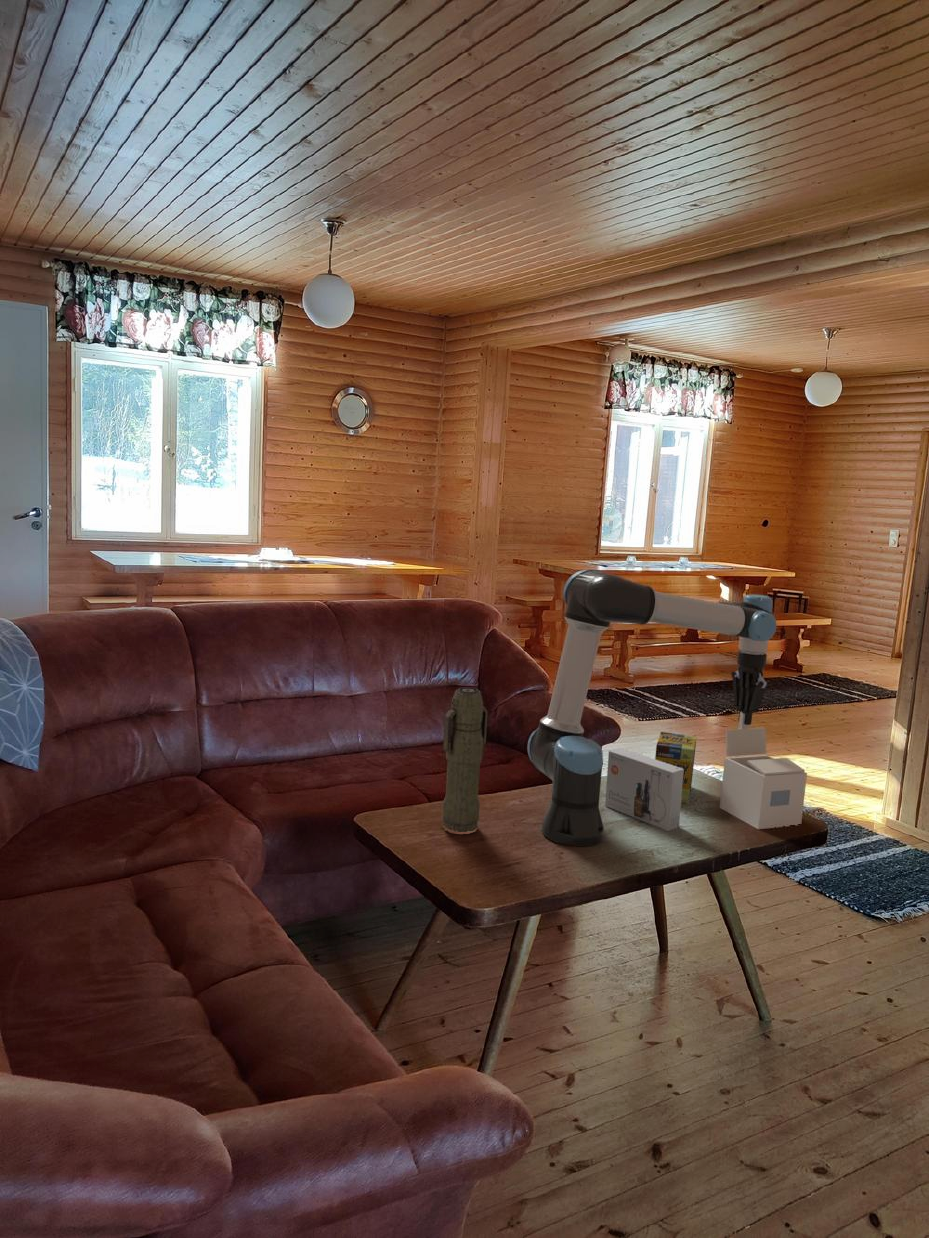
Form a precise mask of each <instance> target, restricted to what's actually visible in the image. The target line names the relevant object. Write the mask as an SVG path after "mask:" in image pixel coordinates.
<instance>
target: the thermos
mask: <svg viewBox="0 0 929 1238" xmlns="http://www.w3.org/2000/svg"><path fill="white" fill-rule="evenodd" d="M488 714H489V712H488V710H487V708H486V706H484V701H483V696H482V692H481V691H480V690H479V689H477V688H473V687H459V688H458V689H456V690H455V691H454V694H453V697H452V700H451V708H450V710H448V711H447V712H446V714H445V716H444V728H443V731H444V732H443V742H442V743H443V744H442V745H443V746H442V749H443V750H444V751H445V759H446V761H447V768H446V788H445V789H446V791H445V797H444V799H443V801H442V826H443V825H444V826H445V827H446V828H448V829H450V830H454V831H458V832H467V831H473V830H475V829H476V828H477V827H478V821H479V819H480V806H481V804H480V801H479V786H480V785H479V784H480V773H481V772H480V771H481V770H480V768H481V763H482V761H483V753H484V748H486V744H487V743H486V742H487V733H488V732H487V731H488V730H487V729H488V717H489V716H488ZM477 829H478V828H477Z"/></svg>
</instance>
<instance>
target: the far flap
mask: <svg viewBox="0 0 929 1238" xmlns="http://www.w3.org/2000/svg"><path fill="white" fill-rule="evenodd" d="M725 745H726V747H725V748H726V749H725V750H726V751H725V752H726V753H725V754H726V755H725V756H726V757H740V756H755V755H767V731H766V727H750V728H747V729H738V728H734V729H733V728H730V729H728V728H727V729H725Z"/></svg>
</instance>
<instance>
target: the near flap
mask: <svg viewBox="0 0 929 1238" xmlns="http://www.w3.org/2000/svg"><path fill="white" fill-rule="evenodd" d="M747 763H748V764H750V765H751V766H752V767H754V768H755V769H756V770H758V771H759V772H760V773H762V774H763V775H776V774H789V773H801V772H805V771H806V770H805V769H804V768H802V767H801V766H800V765H798V764H796V763H795V762H794V761H792V760H791V759H790V758H787V757H777V758H775V757H774V759H761V760H747Z"/></svg>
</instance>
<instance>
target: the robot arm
mask: <svg viewBox="0 0 929 1238" xmlns="http://www.w3.org/2000/svg"><path fill="white" fill-rule="evenodd" d="M562 595H563V600H564V602H565V604H566V609H565V613H564V620H565V621H566V623H567V624H568V625H567V631H566V635H565V639H564V643H563V648H562V652H561V656H560V661H559V665H558V670H557V673H556V678H555V681H554V686H553V690H552V695H551V698H550V699H551V700H550V704H549V707H548V711H547V715H546V716H543V717H542V718H540V720H539V723H538V727H537V728H536V730H534V731H533V732H531V733H530V736H529V738H528V742H527V754H528V757H529V759H530V761H531V763H532V765H534V766H535V768H536V769H537V770H538V771H539V772H541V773H543V774H544V775H545V776H547V777H548V779H550V780H551V781H552V786H551V798H550V799H551V800H550V804H549V806H548V809H547V811H546V813H545V816H544V818H543V821H542V824H541V833H543V834H542V835H543V836H544V835H545V836H546V837H547V839H548V838H549V839H548V840H550V839H551V840H550V841H552V840H553V841H552V842H554V841H556V842H555V843H557V842H558V843H557V844H561V845H565V844H566V846H571V847H572V846H573V847H587V846H588V847H589V846H593V845H596V844H599V843H601V842H602V841H603V839H604V835H605V828H604V825H603V820H602V819H603V818H602V816H601V812H600V807H599V805H600V792H601V785H602V784H601V783H602V772H603V766H604V757H603V756H604V755H603V754H604V753H603V750H602V747H601V745H599V744H598V743H597V742H596V741H594V740H592V739H590V738H586V737H584V733H585V729H584V727H583V726H582V725H581V720H582V716H583V712H584V708H585V705H586V704H585V703H586V699H587V695H588V690H589V687H590V683H591V678H592V673H593V669H594V666H595V662H596V657H597V653H598V650H599V645H600V641H601V637H602V634H603V632H605V631H606V630H609V628H610V624H611V623H622V624H623V623H624V624H633V625H634V624H635V625H641V626H645V625H647V624H649V623H654V624H659V625H660V624H662V625H666V626H668V625H669V626H673V627H678V628H679V627H681V628H686V629H692V630H697V631H698V630H699V631H704V632H711V633H716V634H720V635H721V634H722V635H728V636H734V637H739V642H738V650H739V651H738V652H737V660H736V663H737V665H738V668H737V670H736V671H732V672H731V677H732V686H733V690H732V691H733V705H734V707H735V708H737V710H738V711H739V712H738V719H737V720H738V728H737V729H747V728H751V725H752V722H753V721H752V720H753V714H754V713H756V714H757V713H759V711H760V708H761V706H762V701H763V698H764V696H765V692H766V689H767V688H768V686H769V684H770V681H768V680H765V679H764V673H763V670H764V668H765V667H766V665H767V657H768V655H767V652H768V648H769V640H770V639H772V638H773V637H774V635H775V634H776V631H777V626H778V625H777V619H776V618H775V617H774V615H773V607H774V606H773V601H774V600H773V599H772V597H770V596H768V595H762V594H745V595H744V597H743V601H742V602H726V601H725V602H722V601H721V602H720V601H716V602H715V601H711V600H704V599H700V598H694V597H689V596H683V595H677V594H671V593H668V592H667V593H666V592H662V591H661V592H660V591H655V589H654V588H653V587H652V586H650V585H645V584H641V583H637V582H634V581H631V580H628V579H627V578H624V577H621V576H619V575H616V574H612V573H607V572H604V571H600V570H597V569H581V570H579V571H577V572H575V573H574V574H572V575H571V576H570V577H569V578H568V579H567V580H566V583H565V584H564V587H563V593H562ZM545 836H544V837H545ZM546 837H545V838H546Z"/></svg>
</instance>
